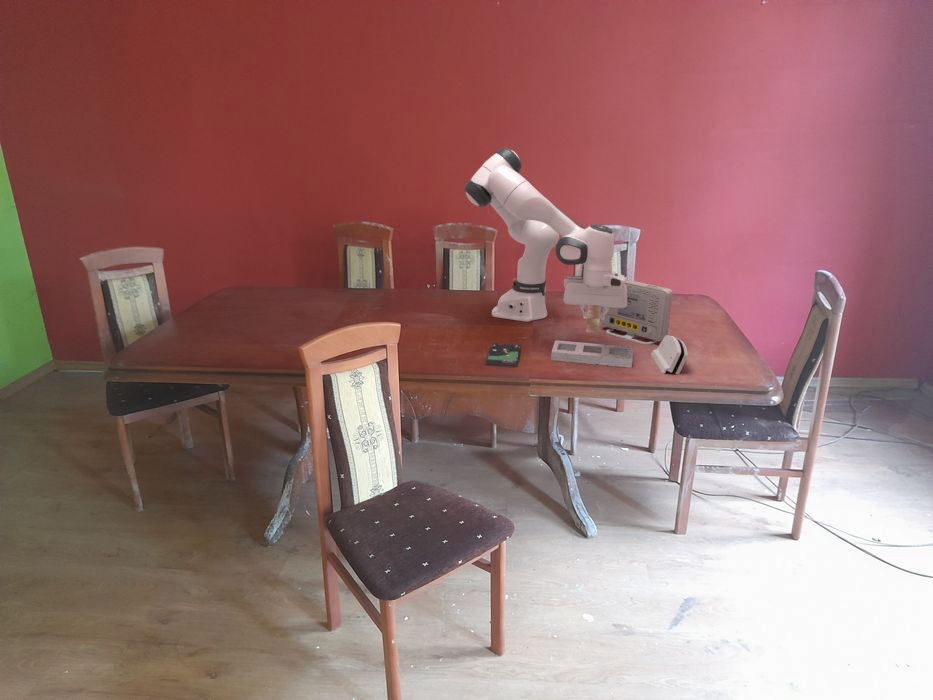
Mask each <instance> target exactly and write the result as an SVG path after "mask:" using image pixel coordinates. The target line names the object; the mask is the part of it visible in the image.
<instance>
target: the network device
mask: <svg viewBox="0 0 933 700" xmlns="http://www.w3.org/2000/svg"><path fill="white" fill-rule="evenodd" d="M625 285H626V287H627V306H626V307H625V308H613V307H609V311H608V312H607V313H606V314H605V319H604V320H601V319H600V324H601V325H602V326H604V327H607V329H606V330H605V334H607V333H608V334H610V335H609V336H611V335H614V336H613V337H615V336H616V337H615V338H618V337H619V338H618V339H622V338H623V339H622V340H626V341H629V340H630V342H632V341H633V343H635V342H636V344H639V343H640V345H642V344H644V345H643V346H651V344H652V345H654V344H656V343H658V342H661V341H662V340H663V338H664V337H665V336H666V335H668V334H669V327H670V319H671V312H672V304H673V297H674V292H673V290H672V289H671V288H667V287H662V286H657V285H655V284H654V285H653V284H649V283H644V282H639V281H635V280H629V279H626V278H625ZM604 308H605V307H601V313H603V312H604V311H605V310H604ZM614 329H616V330H619V331H621V332H624V333H625V332H626V334H625V335H620V334H617V333H613V331H615V330H614ZM612 330H613V331H612ZM609 331H611V332H609ZM608 334H607V335H608ZM637 337H643V338H645V339H650V341H647V342H646V341H641V340H637V339H635V338H637ZM632 338H633V339H632ZM657 341H658V342H657Z"/></svg>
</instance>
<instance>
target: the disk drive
mask: <svg viewBox="0 0 933 700" xmlns="http://www.w3.org/2000/svg"><path fill="white" fill-rule="evenodd" d="M521 351H522V345H521V344H515V343H514V344H513V343H512V344H511V343H503V344H499V342H497V343H496V342H492V343H491V345H490V348H489V351H488V354H487V356H486V359H485V362H486V363H485V365H486V366H493V367H495V366H497V367H507V368H509V367H511V368H517V367H518V365H519V360H520V356H521V355H520V354H521Z"/></svg>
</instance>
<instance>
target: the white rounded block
mask: <svg viewBox="0 0 933 700" xmlns="http://www.w3.org/2000/svg"><path fill="white" fill-rule="evenodd" d="M688 353H689V352H688V349H687V346H686V344H685V343H684V341H683V340H682V339H680V338H678V337H677V336H672V335H666V336H665V337H664V338H663V339H662V340H661V341H660V343H659V345H658V347H657V348H656V349H653V350H652V352H651V354H650V356H651V358H652V359H653V361H654V362H655V363H656V365H657V367H658V369H659V370H660V372H661V373H662V375H665V374H666V372H669V373H674V374H676V375H678V376H679V375H680V373H681V372H682V369H683V367H684V365H685V363H686V361H687V359H688V356H689V354H688Z"/></svg>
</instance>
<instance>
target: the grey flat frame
mask: <svg viewBox="0 0 933 700" xmlns="http://www.w3.org/2000/svg"><path fill="white" fill-rule="evenodd" d="M633 353H634V351H633V346H629V345H628V346H626V345H613V344H604V343H603V344H602V343H590V342H581V341H580V342H579V341H578V342H577V341H570V340H569V341H568V340H567V341H566V340H558V339H556V340H554V343H553V346H552V350H551V355H550V357H551V358H550V361H556V362H566V363H575V364H576V363H578V364H585V363H586V364H589V365H596V364H598V365H600V366H607V365H608V366H609V367H617V368H618V367H620V368H629V369H630V368H631V369H632V368H633V361H634V355H633Z"/></svg>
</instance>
